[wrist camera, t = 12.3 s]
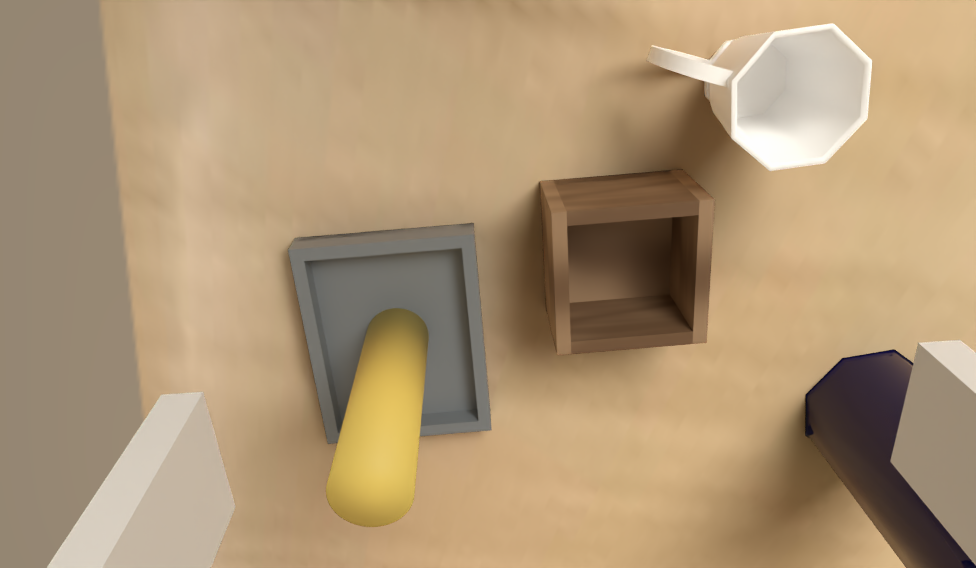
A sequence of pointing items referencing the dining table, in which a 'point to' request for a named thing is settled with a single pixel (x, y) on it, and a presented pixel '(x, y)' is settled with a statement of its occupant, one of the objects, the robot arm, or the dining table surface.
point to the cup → (783, 91)
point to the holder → (626, 261)
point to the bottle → (877, 454)
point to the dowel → (382, 423)
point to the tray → (396, 284)
